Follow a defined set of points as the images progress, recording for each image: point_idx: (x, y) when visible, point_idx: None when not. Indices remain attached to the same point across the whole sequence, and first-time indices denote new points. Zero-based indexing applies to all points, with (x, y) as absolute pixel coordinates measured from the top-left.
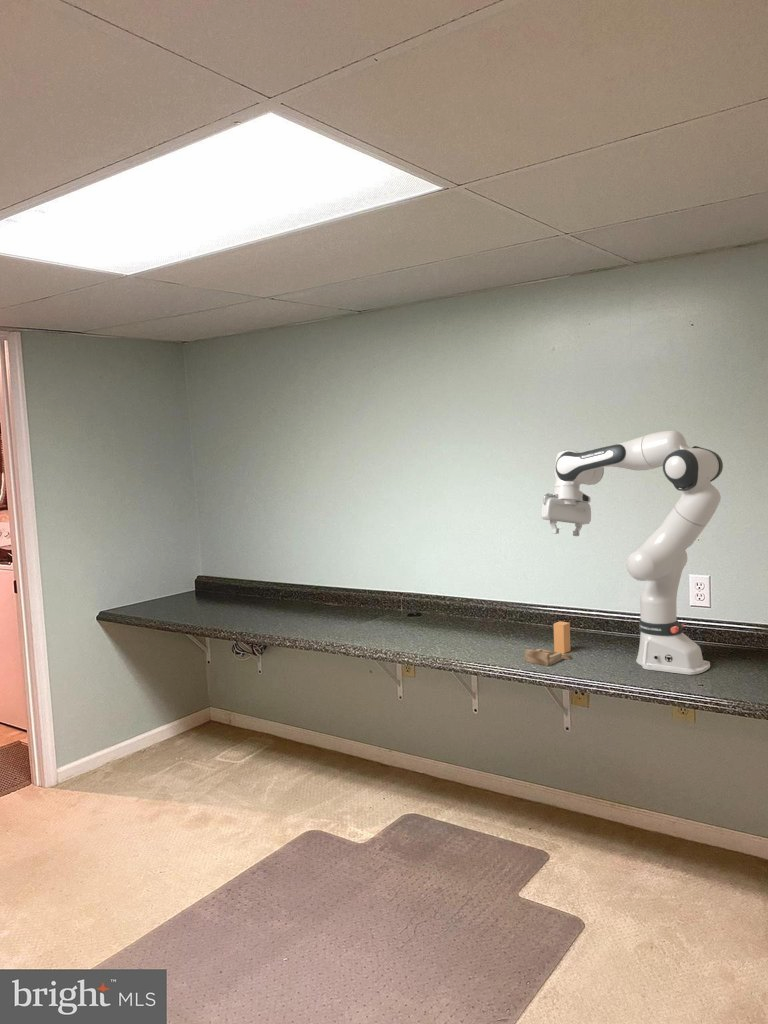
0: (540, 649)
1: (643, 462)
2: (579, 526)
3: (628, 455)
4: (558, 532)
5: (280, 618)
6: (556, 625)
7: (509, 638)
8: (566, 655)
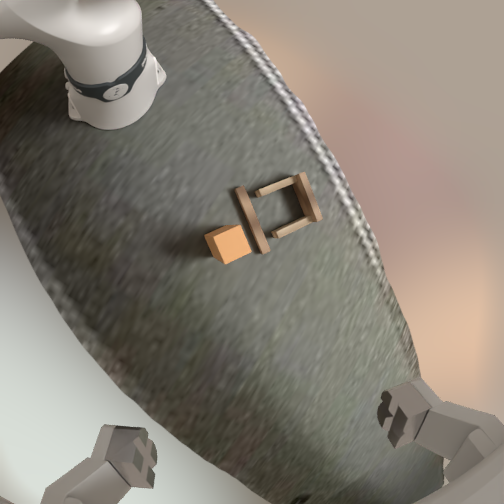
0: (280, 231)
1: None
2: (75, 502)
3: None
4: (393, 389)
5: (399, 484)
6: (247, 243)
7: (256, 370)
8: (245, 190)
